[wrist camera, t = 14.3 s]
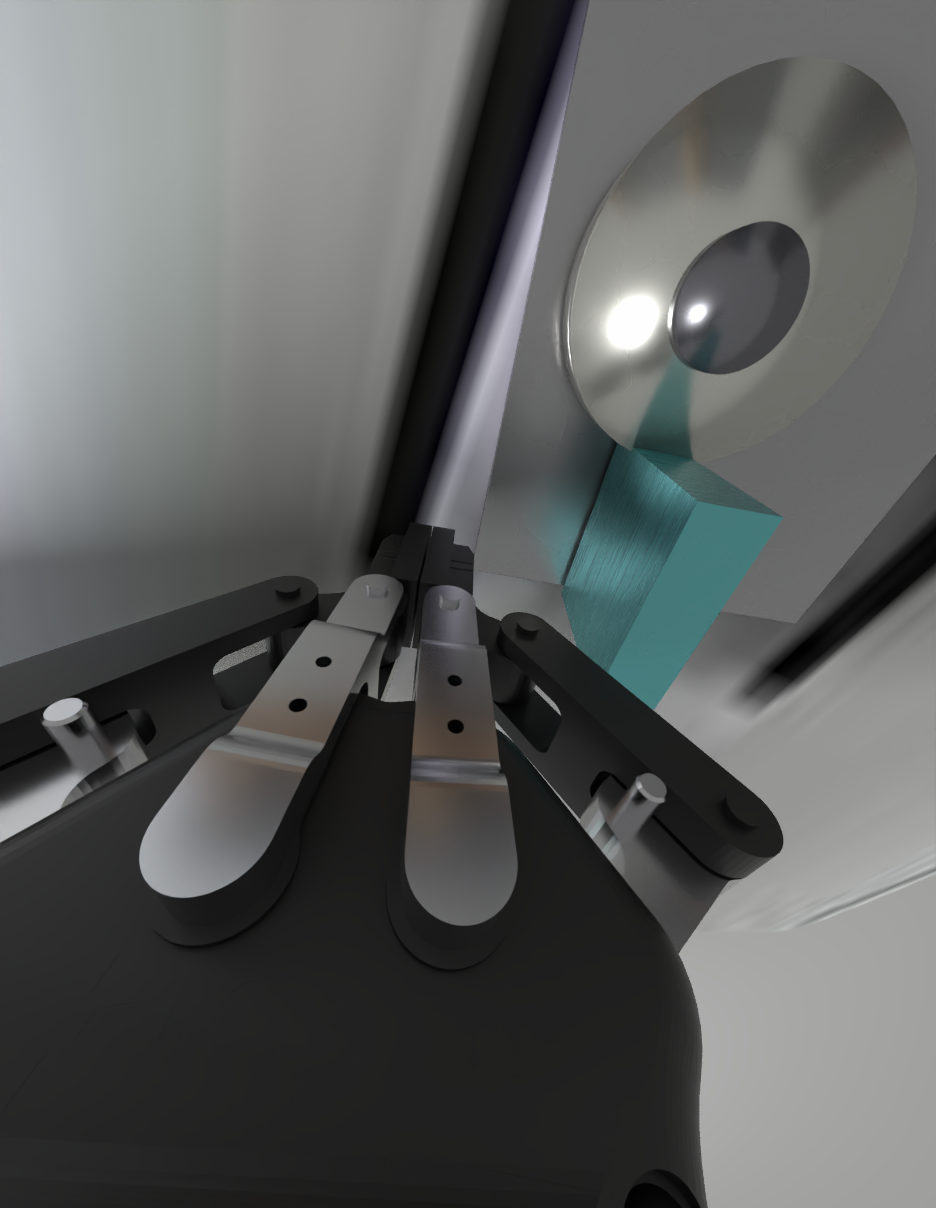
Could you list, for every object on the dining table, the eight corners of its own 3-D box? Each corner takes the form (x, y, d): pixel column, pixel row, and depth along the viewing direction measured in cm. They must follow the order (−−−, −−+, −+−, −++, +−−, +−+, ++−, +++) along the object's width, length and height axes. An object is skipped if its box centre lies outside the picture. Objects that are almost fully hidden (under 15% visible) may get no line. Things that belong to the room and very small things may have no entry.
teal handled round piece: (493, 582, 17) (497, 686, 12) (626, 47, 9) (804, -295, 4) (670, 611, 18) (743, 722, 13) (949, 135, 9) (1455, -69, 5)
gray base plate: (471, 566, 17) (471, 569, 17) (652, -314, 7) (659, -338, 7) (790, 619, 18) (795, 623, 18) (1354, -71, 8) (1383, -84, 8)
